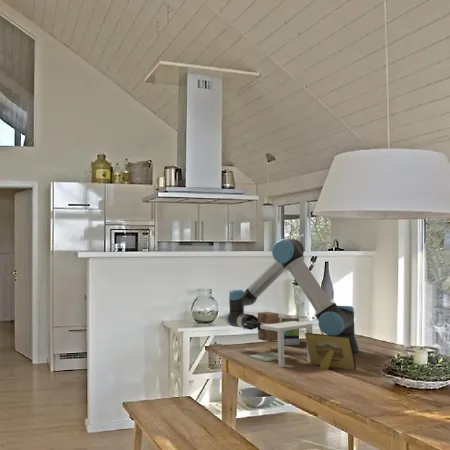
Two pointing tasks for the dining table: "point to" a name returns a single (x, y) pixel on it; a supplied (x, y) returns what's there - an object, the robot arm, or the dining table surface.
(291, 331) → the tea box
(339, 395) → the dining table surface
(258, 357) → the mat
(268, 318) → the walnut block
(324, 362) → the picture frame
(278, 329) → the small white table
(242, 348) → the dining table surface
